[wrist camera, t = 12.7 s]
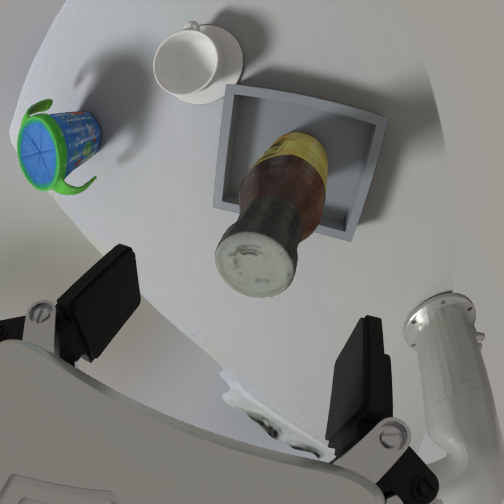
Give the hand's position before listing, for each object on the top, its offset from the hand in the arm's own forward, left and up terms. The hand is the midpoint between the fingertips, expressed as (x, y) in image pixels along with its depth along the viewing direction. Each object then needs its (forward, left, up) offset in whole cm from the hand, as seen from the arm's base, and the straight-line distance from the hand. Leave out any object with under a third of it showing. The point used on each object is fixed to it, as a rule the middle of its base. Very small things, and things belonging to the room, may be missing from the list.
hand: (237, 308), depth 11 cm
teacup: (+13, -9, -24) cm, 29 cm away
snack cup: (+31, +1, -24) cm, 40 cm away
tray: (0, 0, -24) cm, 24 cm away
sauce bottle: (0, 0, -23) cm, 23 cm away
